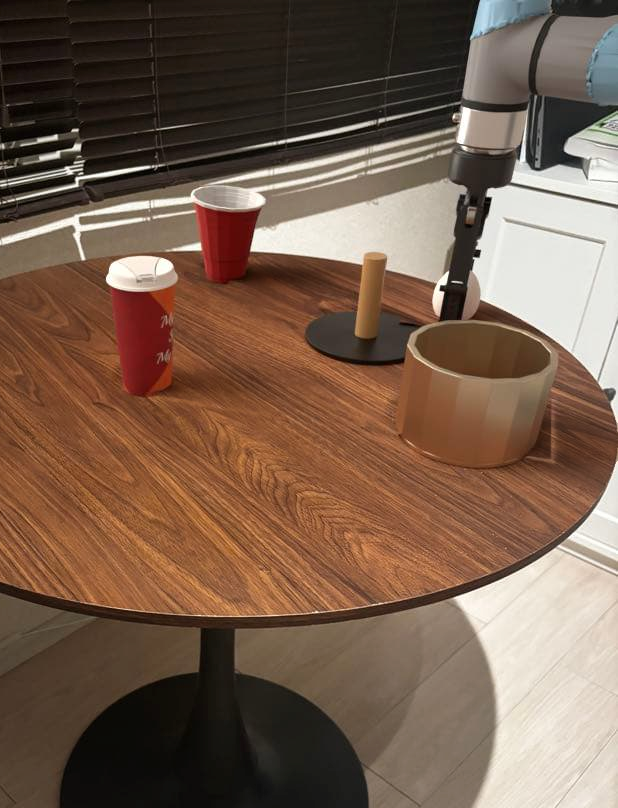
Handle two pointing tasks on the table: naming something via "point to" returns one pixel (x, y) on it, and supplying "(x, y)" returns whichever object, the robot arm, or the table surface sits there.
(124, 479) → the table surface
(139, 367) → the paper cup
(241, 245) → the plastic cup
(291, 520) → the table surface
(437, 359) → the pot
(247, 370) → the table surface
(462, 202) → the robot arm
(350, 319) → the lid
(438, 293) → the egg
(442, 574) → the table surface
